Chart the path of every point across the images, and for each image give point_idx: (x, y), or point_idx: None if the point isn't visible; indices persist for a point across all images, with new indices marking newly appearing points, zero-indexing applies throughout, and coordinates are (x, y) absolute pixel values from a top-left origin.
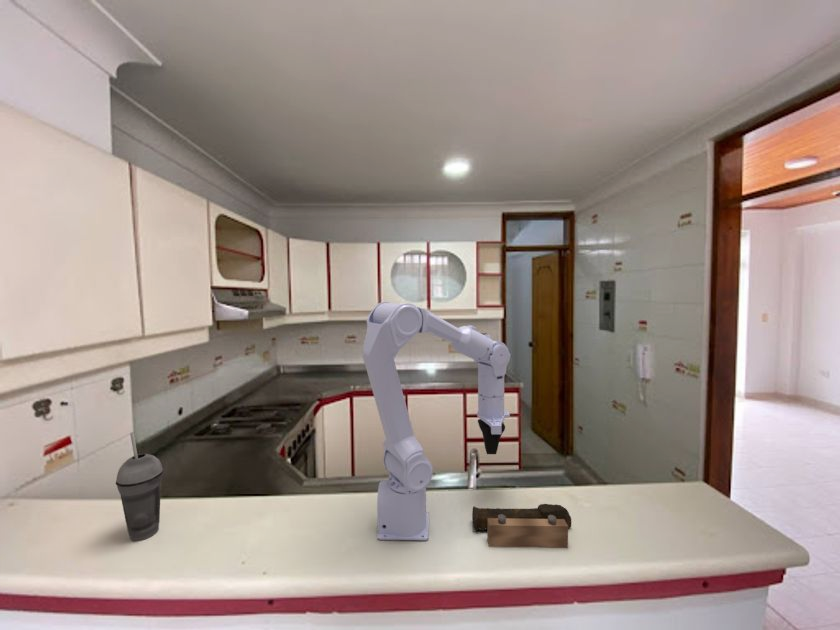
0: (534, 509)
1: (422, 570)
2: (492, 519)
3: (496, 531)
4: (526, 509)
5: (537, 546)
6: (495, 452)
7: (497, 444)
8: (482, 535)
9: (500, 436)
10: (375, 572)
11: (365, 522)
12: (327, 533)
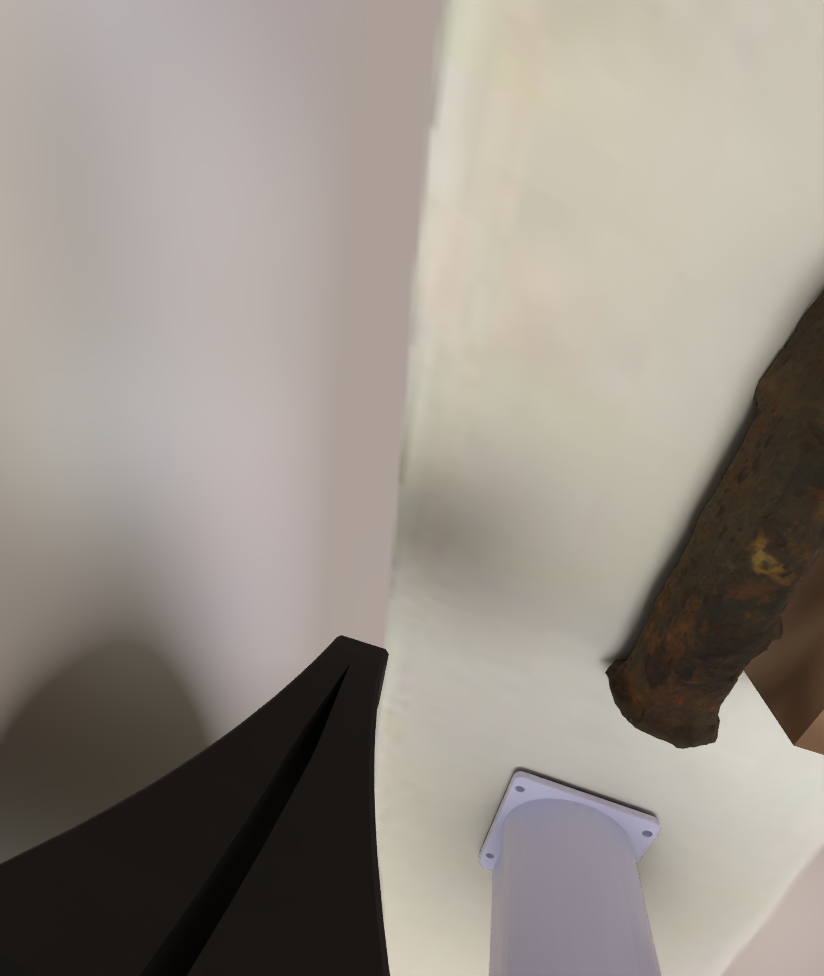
0: (816, 465)
1: (786, 867)
2: (817, 731)
3: None
4: (786, 511)
5: None
6: (384, 667)
7: (374, 736)
8: None
9: (375, 861)
10: (729, 939)
11: None
12: None
